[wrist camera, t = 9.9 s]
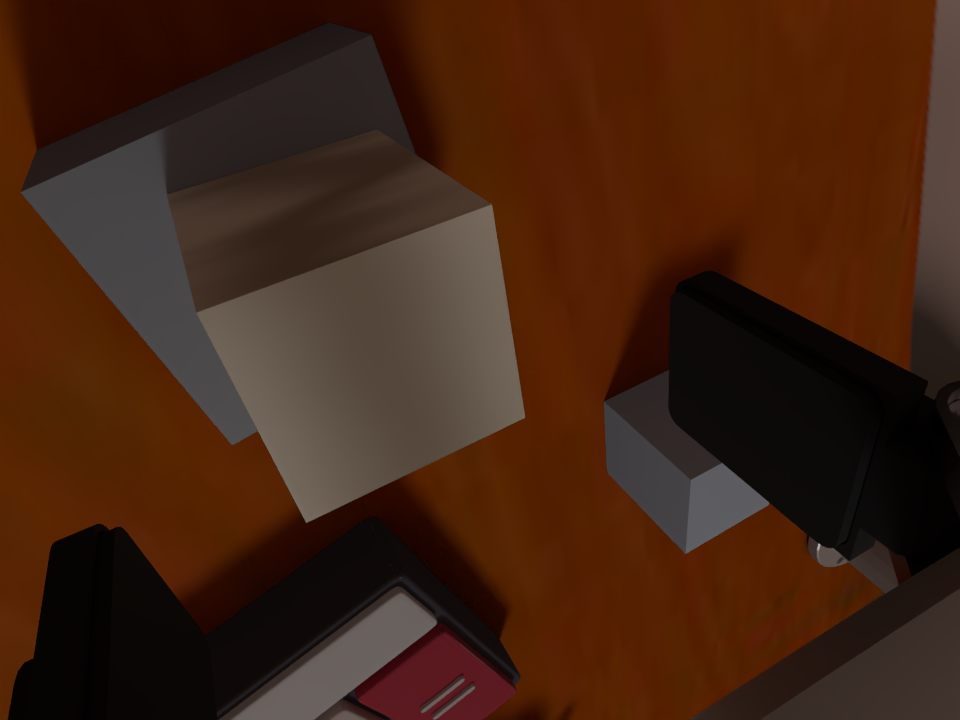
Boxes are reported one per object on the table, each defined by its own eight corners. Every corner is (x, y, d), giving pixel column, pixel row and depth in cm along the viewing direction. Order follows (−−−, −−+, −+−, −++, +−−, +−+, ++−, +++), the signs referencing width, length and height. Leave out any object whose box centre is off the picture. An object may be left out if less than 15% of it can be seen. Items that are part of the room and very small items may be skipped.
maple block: (377, 129, 15) (491, 204, 11) (421, 302, 18) (525, 417, 14) (166, 194, 14) (196, 312, 9) (252, 369, 17) (306, 523, 12)
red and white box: (364, 824, 33) (160, 776, 22) (339, 746, 36) (150, 672, 26) (531, 691, 34) (410, 587, 24) (493, 626, 37) (371, 509, 27)
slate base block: (325, 21, 17) (371, 34, 14) (424, 262, 22) (473, 309, 19) (38, 147, 16) (20, 191, 13) (214, 373, 21) (232, 445, 18)
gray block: (686, 360, 31) (783, 429, 27) (682, 432, 34) (768, 504, 30) (603, 400, 30) (690, 480, 25) (606, 471, 33) (685, 553, 28)
